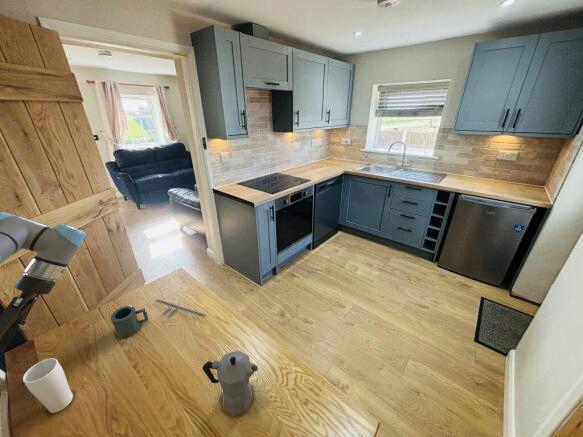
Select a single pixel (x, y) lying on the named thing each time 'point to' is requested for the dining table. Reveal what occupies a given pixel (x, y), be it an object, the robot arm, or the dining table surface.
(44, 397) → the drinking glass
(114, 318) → the mug
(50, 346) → the dining table surface
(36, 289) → the robot arm
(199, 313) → the grey pronged rod
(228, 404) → the coffeepot
